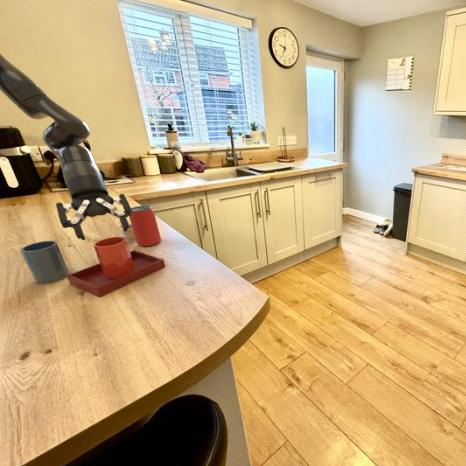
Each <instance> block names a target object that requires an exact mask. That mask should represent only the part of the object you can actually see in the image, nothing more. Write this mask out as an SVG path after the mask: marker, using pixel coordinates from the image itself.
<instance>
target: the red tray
mask: <svg viewBox="0 0 466 466" xmlns="http://www.w3.org/2000/svg"><path fill="white" fill-rule="evenodd" d="M130 254H131V257H132V260H133V263H134V267H135V271H134V272H131V273H129V274H127V275H124V276H122V277H120V278H117V279H108V278H106V277H105V275H104V273H103V270H102V268H101V265H100V262H98V263H96V264H93V265H90V266H88V267H86V268H83V269H80V270H77V271H75V272H72V273H70V274H69V275H67V277H66V278H67V280H68V282H69V284H70V285H72V286H75V287H76V288H79V289H81V290H83V291H86V292H87V293H90V294H92V295H93V296H96V297H98V298H101V297H103V296H105V295H108V294H110V293H112V292H114V291H116V290H119V289H121V288H123V287H126V286H127V285H129V284H131V283H134V282H137V281H138V280H141V279H142V278H144V277H147V276H149V275H151V274H153V273H156V272H157V271H160V270H162V269H164V268H166V262H165V259H164V258H160V257H157V256H155V255H151V254H148V253H144V252H142V251H139V250H136V249H134V250H131V251H130Z"/></svg>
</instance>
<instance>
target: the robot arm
mask: <svg viewBox="0 0 466 466" xmlns="http://www.w3.org/2000/svg"><path fill="white" fill-rule="evenodd" d="M0 91H1V93H3V95H4V96H6V97H7V99H8V100H10V101H11V102H12V104H15V106H16V107H17V108H18V109H19V110H20V111H22V113H24V114H25V115H26V116H28V117H29V118H30V119H33V120H43V119H46V118H49V117H50V118H51V119H52V120H53V122H52V123H51V124H49V125H48V126H47V127H46V128H45V129H44V131H43V133H42V140H43V142H44V144H45V145H46V146H47V148H49V150H50V151H51V152H52V153H53V155H55V157H56V158H57V159H58V162H59V164H60V168H61V170H62V176H63V179H64V180H63V181H64V183H65V185H66V188H67V191H68V194H69V196H70V199H71V202H70V203H62V202H56V203H55V206H56V207H55V208H56V211H57V215H58V219H59V223H60V224H61V227H62V228H63V229H68V228H71V229H73V231H74V234H75V236H76V238H77V239H78V240H81V241H86V237H85V234H84V231H83V228H82V226H81V225H82V223H83V222H85V220H86V219H87V218H88V217H89V218H94V217H97V216H106V215H107V214H108V215H109V216H111V217H115V218H117V219H119V222H120V223H121V224H120V223H119V224H120V225H122V228H123V230H124V231H127V229H129V223H128V221H127V219H128V218H129V216H132V209H131V208H132V207H131V205H130V204H129V203H130V202H129V201H128V198H127V197H126V195H125V194H124V193H120V194H119V195H118V196H114V197H113V196H111V195H110V194H109V191H108V188H107V186H106V183H105V181H104V177H103V175H102V173H101V172H100V170H99V168H98V166H97V163H96V162H95V158H94V156H93V154H92V153H91V151H90V150H89V149H88V148H87V147H85V146H82V145H81V144H82V143H83V142H85V141H86V140H87V139H88V138H89V137H90V135H91V131H90V129H89V127H88V125H87V124H86V123H85V121H83V120H82V119H81V118H79V117H78V116H77V115H75V114H73V113H72V112H70V111H68V110H67V109H65V108H64V107H63V106H61V105H60V104H58V103H56V102H55V101H54V100H53V99H52V98H51V97H50V96H49V95H48V94H47V93H46V92H45V91H43V89H42V88H41V87H40V86H39V85H38V84H36V82H35V81H34V80H32V78H30V76H28V75H26V74H25V73H24V72H23V71H22V70H20V69H19V68H18V67H16V66H15V65H14V64H12V62H10V61H9V60H7V59H6V58H5V56H3V55H2V54H1V53H0ZM114 203H117V204H118V205H121V206H122V208H123V210H121V209H119V208H117V207H116V206H115V205H114ZM72 209H73V210H74V211H76V212H75V214H74V216H73V218H72V219H71V220H70V219H68V216H67V214H69V212H70V210H72ZM122 228H121V229H122ZM123 230H122V231H123Z"/></svg>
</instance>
